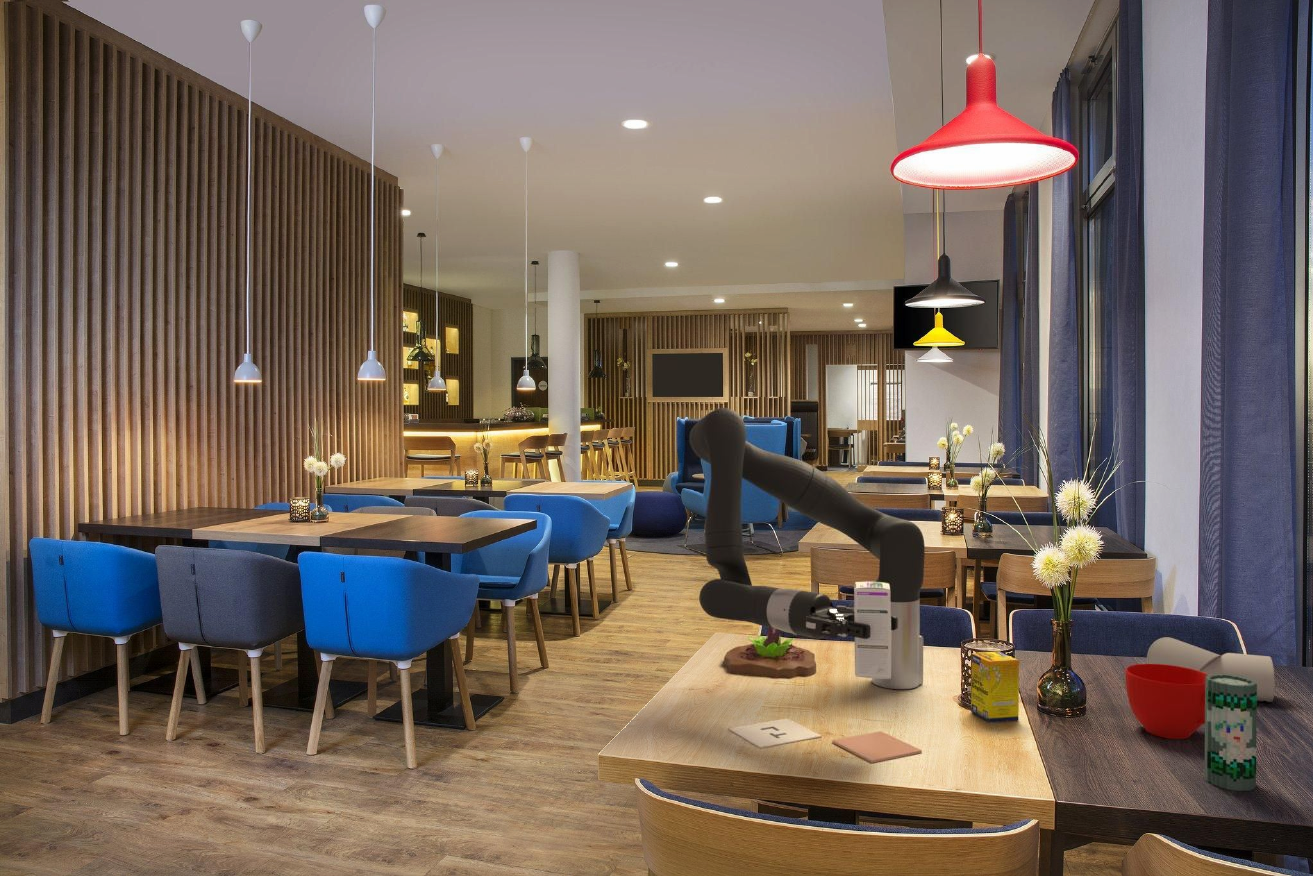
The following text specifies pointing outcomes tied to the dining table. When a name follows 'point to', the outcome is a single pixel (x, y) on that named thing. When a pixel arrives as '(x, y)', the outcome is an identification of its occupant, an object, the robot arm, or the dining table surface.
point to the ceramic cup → (1167, 698)
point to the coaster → (876, 746)
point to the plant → (770, 658)
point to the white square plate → (774, 733)
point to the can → (1230, 731)
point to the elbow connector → (1216, 663)
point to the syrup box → (873, 630)
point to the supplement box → (995, 687)
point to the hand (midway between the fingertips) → (883, 627)
